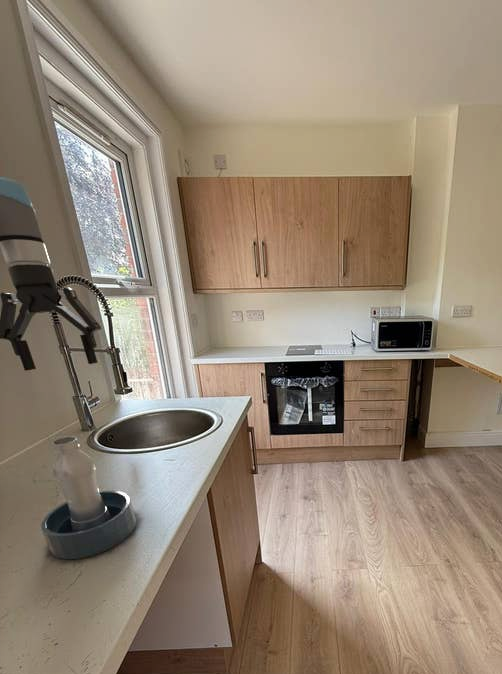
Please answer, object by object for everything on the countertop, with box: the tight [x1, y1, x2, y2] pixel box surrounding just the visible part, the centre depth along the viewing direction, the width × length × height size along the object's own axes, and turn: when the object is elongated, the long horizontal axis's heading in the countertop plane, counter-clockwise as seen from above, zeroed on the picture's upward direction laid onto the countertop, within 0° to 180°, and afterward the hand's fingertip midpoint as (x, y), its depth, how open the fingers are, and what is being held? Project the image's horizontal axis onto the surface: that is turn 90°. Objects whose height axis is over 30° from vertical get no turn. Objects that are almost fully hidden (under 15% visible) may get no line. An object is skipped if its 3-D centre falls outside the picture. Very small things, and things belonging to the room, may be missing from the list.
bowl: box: [40, 489, 137, 560], centre depth 68 cm, size 14×14×6 cm
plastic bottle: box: [51, 435, 111, 532], centre depth 65 cm, size 6×7×20 cm
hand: (62, 366), depth 80 cm, fingers open, 13 cm apart
